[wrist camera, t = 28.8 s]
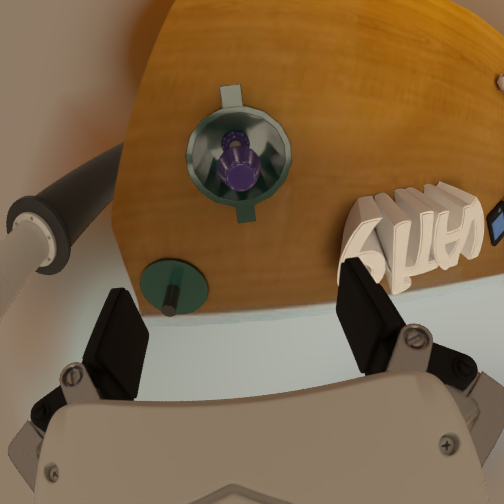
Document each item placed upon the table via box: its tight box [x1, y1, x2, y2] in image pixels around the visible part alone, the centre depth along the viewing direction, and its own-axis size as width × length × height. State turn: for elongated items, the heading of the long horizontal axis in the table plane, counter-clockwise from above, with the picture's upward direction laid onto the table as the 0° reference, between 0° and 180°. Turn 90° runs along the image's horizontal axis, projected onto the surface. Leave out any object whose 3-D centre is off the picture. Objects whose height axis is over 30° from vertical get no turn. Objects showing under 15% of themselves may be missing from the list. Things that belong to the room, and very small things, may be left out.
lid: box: [140, 259, 208, 317], centre depth 50 cm, size 14×14×7 cm
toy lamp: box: [217, 130, 261, 191], centre depth 32 cm, size 5×5×17 cm
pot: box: [185, 84, 292, 223], centre depth 35 cm, size 13×18×10 cm
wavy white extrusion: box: [337, 181, 484, 295], centre depth 44 cm, size 35×16×10 cm, turn 101°
